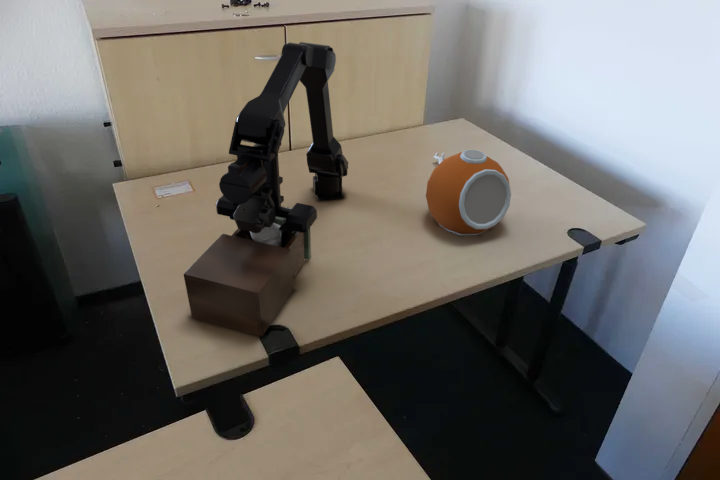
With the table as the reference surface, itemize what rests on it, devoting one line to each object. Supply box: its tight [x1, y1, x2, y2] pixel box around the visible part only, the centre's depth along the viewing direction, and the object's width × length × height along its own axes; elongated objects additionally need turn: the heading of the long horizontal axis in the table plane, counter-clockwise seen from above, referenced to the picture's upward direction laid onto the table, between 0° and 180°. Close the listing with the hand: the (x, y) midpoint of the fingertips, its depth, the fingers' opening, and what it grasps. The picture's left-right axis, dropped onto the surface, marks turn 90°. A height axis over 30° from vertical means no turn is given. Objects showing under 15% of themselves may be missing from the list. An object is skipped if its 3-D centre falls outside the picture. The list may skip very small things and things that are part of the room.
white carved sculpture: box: [250, 223, 281, 247], centre depth 106 cm, size 6×7×7 cm
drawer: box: [231, 217, 312, 280], centre depth 110 cm, size 17×13×9 cm
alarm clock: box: [425, 149, 512, 236], centre depth 124 cm, size 19×18×17 cm
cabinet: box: [183, 233, 294, 338], centre depth 99 cm, size 13×14×10 cm
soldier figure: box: [432, 151, 445, 165], centre depth 147 cm, size 8×5×12 cm
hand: (269, 246), depth 108 cm, fingers closed on white carved sculpture, 6 cm apart
